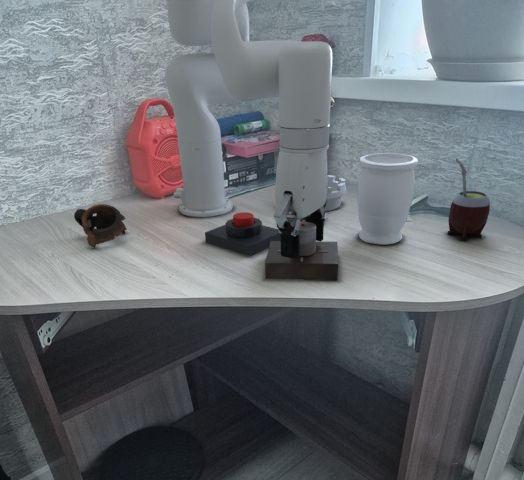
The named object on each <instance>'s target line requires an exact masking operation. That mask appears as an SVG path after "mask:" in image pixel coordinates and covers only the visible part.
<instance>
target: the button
mask: <svg viewBox="0 0 524 480" xmlns="http://www.w3.org/2000/svg"><path fill="white" fill-rule="evenodd" d="M254 218H255V216H254V214H253V213H251V212H247V211H246V212H245V211H244V212H242V211H241V212H236V213H234V214H233V215H232V219H233V225H234V226H239V227H245V226H251V225H253V224H254Z"/></svg>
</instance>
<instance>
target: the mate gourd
mask: <svg viewBox="0 0 524 480" xmlns="http://www.w3.org/2000/svg"><path fill="white" fill-rule="evenodd" d="M455 161H456V163H457V164H458V165H459V167H460V169H461V172H460V173H461V176H462V191H459V192H458V193H456V194H455V196H454V197H453V198H452V201H451V203H450V204H451V205H450V207H449V214H448V219H447V221H448V231H447V235H449V236H459V237H461V239H460V240H461V241H462V242H466V241H467V237H469V238H470V237H471V238H479V239H481V238H482V236H483V234H482V232H483V230H484V228H485V226H486V225H487V221H488V218H489V215H490V210H491V200H490V198H489V196H488V194H486V193H485V192H483V191H478V190H467V169H466V167H465V166H464V164H463V163H462V161H460V160H459V159H458V158H455Z"/></svg>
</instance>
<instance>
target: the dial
mask: <svg viewBox="0 0 524 480" xmlns="http://www.w3.org/2000/svg"><path fill="white" fill-rule="evenodd" d="M291 226H293V223H291ZM297 234H298V235H300V238H299V256H309V255H312V254H314V253H315V251H316V242H317V241H316V225H315V224H313V223H310V222H305V220H302V222H300V225H299V228H298V232H297Z"/></svg>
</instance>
